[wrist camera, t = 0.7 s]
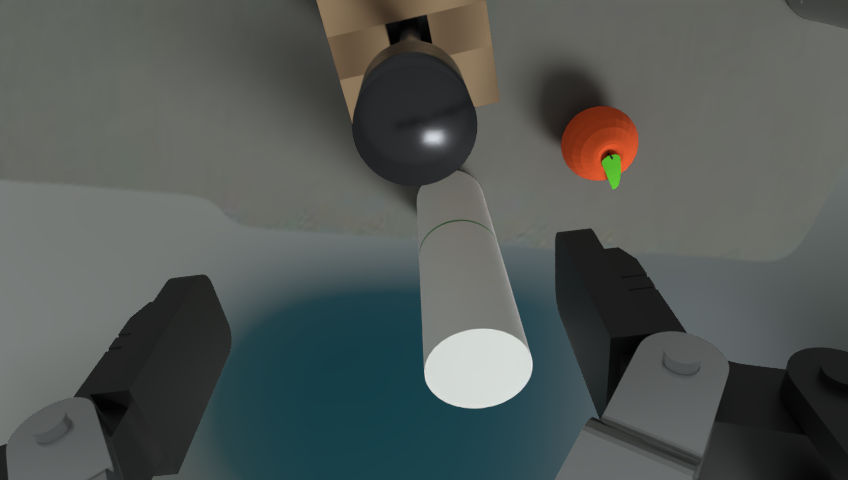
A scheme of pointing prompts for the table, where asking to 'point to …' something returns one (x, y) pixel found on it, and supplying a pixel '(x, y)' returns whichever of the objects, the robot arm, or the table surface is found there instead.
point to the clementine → (600, 144)
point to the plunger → (413, 109)
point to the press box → (449, 27)
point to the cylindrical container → (467, 299)
